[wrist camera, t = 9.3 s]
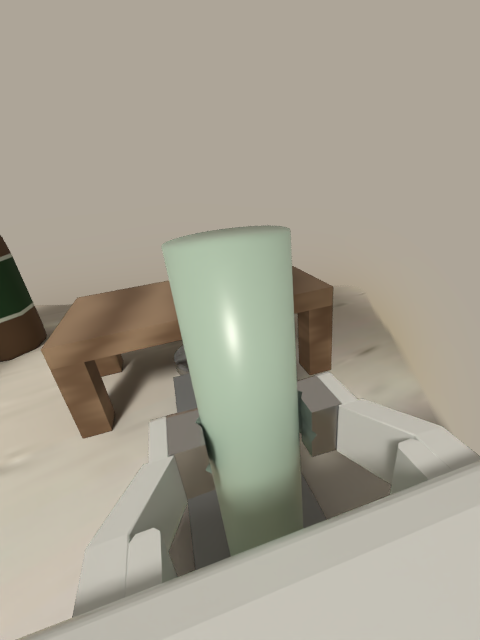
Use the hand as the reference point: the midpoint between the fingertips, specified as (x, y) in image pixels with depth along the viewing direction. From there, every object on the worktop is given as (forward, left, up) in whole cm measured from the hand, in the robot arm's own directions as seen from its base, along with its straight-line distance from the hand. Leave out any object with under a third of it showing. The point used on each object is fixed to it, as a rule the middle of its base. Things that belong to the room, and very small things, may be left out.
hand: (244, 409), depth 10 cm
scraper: (0, +6, -8) cm, 10 cm away
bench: (0, +16, -8) cm, 18 cm away
